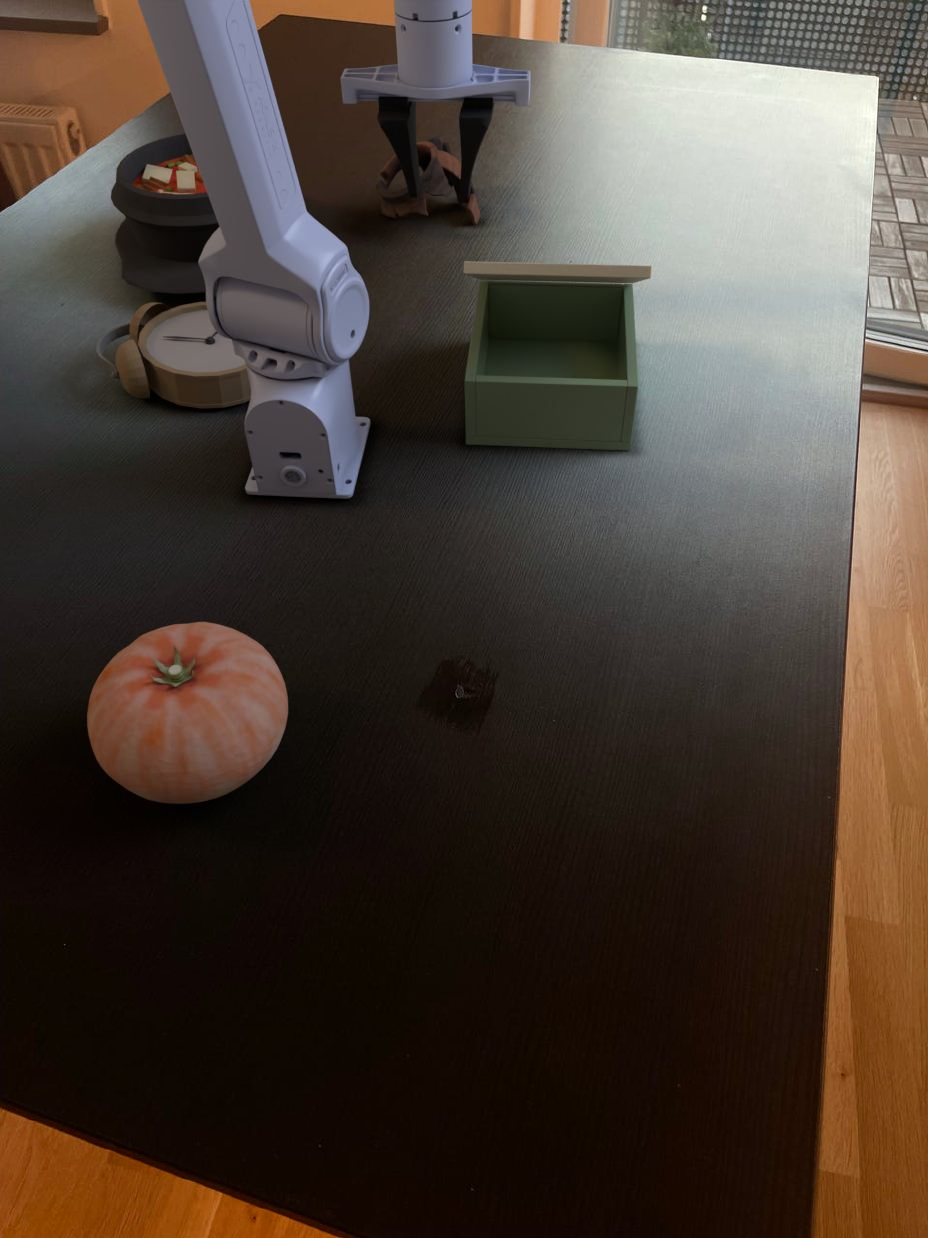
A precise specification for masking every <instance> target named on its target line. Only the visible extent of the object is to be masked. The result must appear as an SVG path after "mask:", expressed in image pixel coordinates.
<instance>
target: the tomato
mask: <svg viewBox="0 0 928 1238" xmlns="http://www.w3.org/2000/svg"><path fill="white" fill-rule="evenodd" d="M288 716H289V697H288V691H287V686H286V683H285V680H284V678H283V674H282V672H281V669H280V668H279V666H278V664H277V663H276V661H275V659H274V658H273V656H272V655H271V654H270V652H269V651H268V650H267V649H266V648H265V647H264V646H263V645H262V644H260V643H259V642H258V641H256V639H253V638H252V637H250V636H248V635H247V634H245V633H243V632H241V631H239V630H236V629H234V628H232V627H229V626H226V625H222V624H218V623H214V622H208V621H195V622H190V623H176V624H169V625H166V626H162V627H159V628H156V629H154V630H151V631H148V632H146V633H144V634H141V635H140V636H138V637H137V638H136V639H135V640H133V642H131V643H130V644H129V645H127V646H126V647H124V648H122V649H121V650H120V651H118V652H117V653H116V655H114V656H113V657H112V658H111V660H109V662H108V663H107V664H106V666H104V669H103V670H102V671H101V673H100V674H99V676H98V677H97V679H96V681H95V683H94V685H93V686H92V690H91V693H90V696H89V701H88V705H87V714H86V717H87V718H86V721H87V722H86V723H87V724H86V726H87V733H88V738H89V742H90V746H91V750H92V752H93V754H94V757H95V759H96V761H97V763H98V764H99V766H100V767H101V769H102V770H103V771H104V772H105V773H106V775H108V777H110V778H111V779H112V780H113V781H114V782H116V783H117V784H119V785H121V786H122V787H123V788H124V789H126V790H127V791H129V792H131V793H133V794H134V795H136V796H138V797H141V798H142V799H145V800H148V801H152V802H157V803H163V804H175V805H184V804H196V803H202V802H207V801H210V800H214V799H217V798H220V797H223V796H226V795H227V794H230V793H231V792H234V791H235V790H237V789H238V788H240V787H242V786H243V785H244V784H246V783H247V782H248V781H250V780H251V779H252V778H254V777H255V776H256V775H257V774H258V773H259V772H260V771H261V770H262V769H263V768H264V767H265V766H266V765H267V763H269V761H271V759H272V758H273V756H274V755H275V754H276V753H275V752H276V751H277V750H278V747H279V746H280V743H281V741H282V738H283V736H284V733H285V730H286V726H287V722H288Z"/></svg>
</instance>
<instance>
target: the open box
mask: <svg viewBox="0 0 928 1238" xmlns="http://www.w3.org/2000/svg"><path fill="white" fill-rule="evenodd" d="M476 295H477V296H476V302H475V308H474V313H473V315H474V316H473V321H472V323H473V324H472V329H471V335H470V340H469V341H470V342H469V348H468V354H467V355H468V356H467V361H466V366H465V375H464V381H463V382H464V420H465V423H464V424H465V425H464V426H465V445H469V446H471V445H473V446H474V445H475V446H500V447H523V448H525V447H526V448H551V449H553V448H554V449H575V450H576V449H579V450H580V449H581V450H605V451H627V452H628V451H631V448H632V440H633V430H634V425H635V424H634V422H635V416H636V407H637V402H638V401H637V400H638V392H639V375H638V374H639V373H638V371H639V370H638V354H637V337H636V336H637V335H636V319H635V318H636V317H635V301H634V300H635V298H634V283H593V282H554V281H514V280H480V279H479V281H478V289H477V294H476Z"/></svg>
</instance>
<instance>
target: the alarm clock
mask: <svg viewBox="0 0 928 1238" xmlns="http://www.w3.org/2000/svg"><path fill="white" fill-rule="evenodd" d="M126 336H129V338H130V339H128V340H126V341H124V342H123V343H121V344H120V345H119V346H118V348H117V351H116V354H115V365H114V364H113V363H112V362H111V360H108V359H107V358H105V356H103V353H104V351H105V350H106V348H107V347H108V346H109V345H110V344H111V343H113V342H114V341H116V340H118V339H120V338H123V337H126ZM95 347H96V348H95V349H96V355H97V360H98V362H99V364H100V366H101V367H102V368H103V369H104V370H106V371H107V372H109V373H110V377H111V379H114V380H117V381H118V383H119V382H120V384H121V386H122V387H123V388H124V389H125V391H126V392H127V393H128V394H130V395H131V396H132V397H135V398H137V399H150V398H151V391H153V392H154V393H155V394H156V395H158V397H160V398H161V399H163V400H165V401H169V402H170V403H173V404H176V405H178V406H182V407H187V408H188V407H190V408H196V409H222V408H227V407H232V406H236V405H240V404H245V403H247V402H250V399H251V387H250V382H249V378H248V373H247V368H246V363H245V360H244V359H243V358H242V357H240V356H237V355H235V352H234V348H233V343H232V339H228V338H225V337H223V336H221V335H220V334H219V333H218V332H217V331H216V330H215V329H214V327H213V325H212V323H211V321H210V318H209V314H208V309H207V304H206V301H198V302H192V303H187V304H182V305H181V304H180V305H178V306H175V307H173V308H170V306H168V305H167V304H165V303H162V302H148V303H145V304H143V305H141V306H140V307H139V308H138V309H137V310H136V311H135V313H134V314H133V316H132V317H131V319H130V322H128V323H124V324H120V325H117V326H115V327H113V328H111V329H109V330H107V331H105V332H104V333H103V334H102V335H101V336H100V338H98V340H97V342H96V346H95ZM150 390H151V391H150Z"/></svg>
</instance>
